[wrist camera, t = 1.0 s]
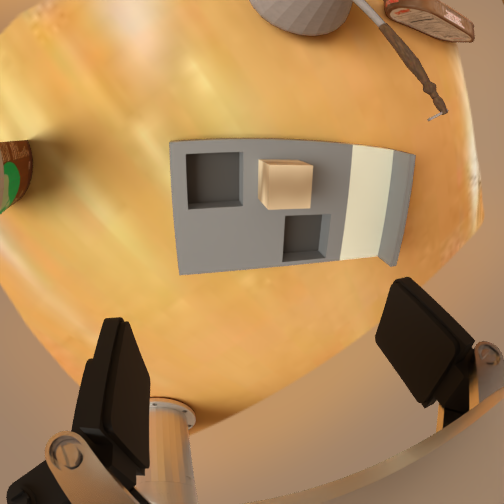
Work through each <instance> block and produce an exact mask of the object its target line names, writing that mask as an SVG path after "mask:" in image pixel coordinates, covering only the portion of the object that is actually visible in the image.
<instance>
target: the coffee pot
mask: <svg viewBox="0 0 504 504" xmlns="http://www.w3.org/2000/svg"><path fill="white" fill-rule="evenodd" d="M250 2H251V4H252V6H253V8H254V9H255V10H256V11H257V12H258V13H259V14H260V16H261V17H262V18H264V19H265V20H266V21H268V22H269V23H270V24H272V25H274V26H276V27H278V28H280V29H282V30H284V31H287V32H291V33H295V34H298V35H308V36H316V35H323V34H328V33H330V32H332V31H334V30H336V29H338V28H339V27H340V26H341V25H342V24H343V23H344V22H345V20H346V18H347V16H348V14H349V12H350V9H351V6H352V2H354V3H355V4H356V5H357V6H358V7H359V8H360V9H361V10H362V11H363V12H364V13H365V14H366V15H367V16H368V17H369V18H370V19H371V20H372V21H373V22H374V23H375V24H376V25H377V26H378V27H379V29H380V31H381V32H382V33H383V34H384V36H385V37H386V38H387V40H388V41H389V42H390V44H391V45H392V46H393V48H394V49H395V50H396V52H397V53H398V55H399V56H400V58H401V59H402V60H403V62H404V63H405V65H406V66H407V68H408V69H409V70H410V71H411V72H412V73H413V74H414V75H415V76H416V77H417V79H418V80H419V81H420V82H421V83H422V84H423V91H424V92H425V93H427V94H429V95H430V96H431V98H432V99H433V103H434V105H435V106H436V108H437V109H438V110H439V111H440V113H438V114H436V115H434V116H433V117H431V118H429V119H427V120H428V121H430V120H432V119H434V118H436V117H438V116H440V115H444V114H446V113H448V109H446V106H445V103H444V101H443V99H442V98H441V97H439V95H438V93H437V92H436V84H434V83H432V82H430V80H429V78H428V76H427V74H426V72H425V70H424V69H423V67H422V65H421V63H420V61H419V59H418V58H417V57H416V56H415V55H414V53H413V52H412V51H411V50H410V49H409V47H408V46H407V45H406V44H405V43H404V42H403V40H402V39H401V38H400V37H399V36H398V35H397V34H396V33H395V32H394V31H393V30H392V29H391V27H390V26H389V25H388V24H387V23H385V22H384V21H383V20H382V19H381V17H380V16H379V15H378V14H377V13H376V12H375V11H374V10H373V9H372V8H371V7H370V5H369V4H368V3H367V2H366V1H365V0H250Z"/></svg>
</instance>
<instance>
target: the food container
mask: <svg viewBox="0 0 504 504" xmlns="http://www.w3.org/2000/svg"><path fill="white" fill-rule="evenodd" d="M32 169H33V159H32V152H31V148H30V145H29V143H28V140H23V141H10V142H0V214H1V213H2V212H4V211H5V210H6V209H7V208H9V207H10V206H11V205H12V204H14V203H15V202H16V201H18V200H19V199H20V198H21V197H22V196H23V195H24V194H25V192H26V190H27V188H28V186H29V184H30V180H31V176H32Z"/></svg>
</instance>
